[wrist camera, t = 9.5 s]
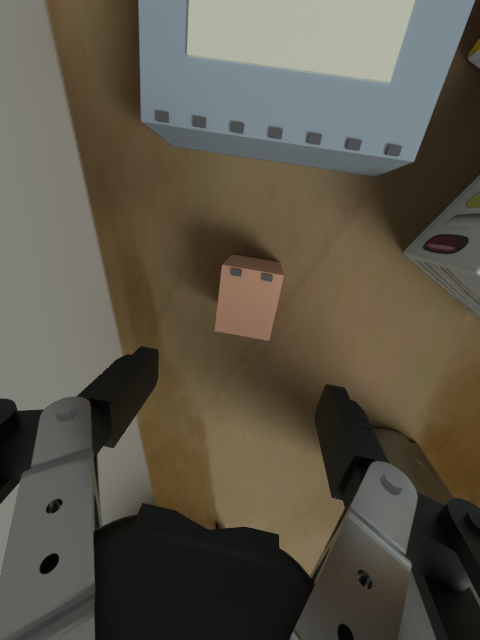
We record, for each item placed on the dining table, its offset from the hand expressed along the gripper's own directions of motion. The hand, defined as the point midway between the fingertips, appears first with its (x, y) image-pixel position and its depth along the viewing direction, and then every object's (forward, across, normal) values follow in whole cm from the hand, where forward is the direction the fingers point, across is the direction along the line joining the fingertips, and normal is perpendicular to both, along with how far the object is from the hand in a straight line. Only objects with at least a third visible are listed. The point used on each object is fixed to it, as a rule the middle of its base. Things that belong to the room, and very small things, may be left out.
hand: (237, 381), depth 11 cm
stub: (+16, 0, 0) cm, 16 cm away
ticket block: (+16, +1, -17) cm, 23 cm away
